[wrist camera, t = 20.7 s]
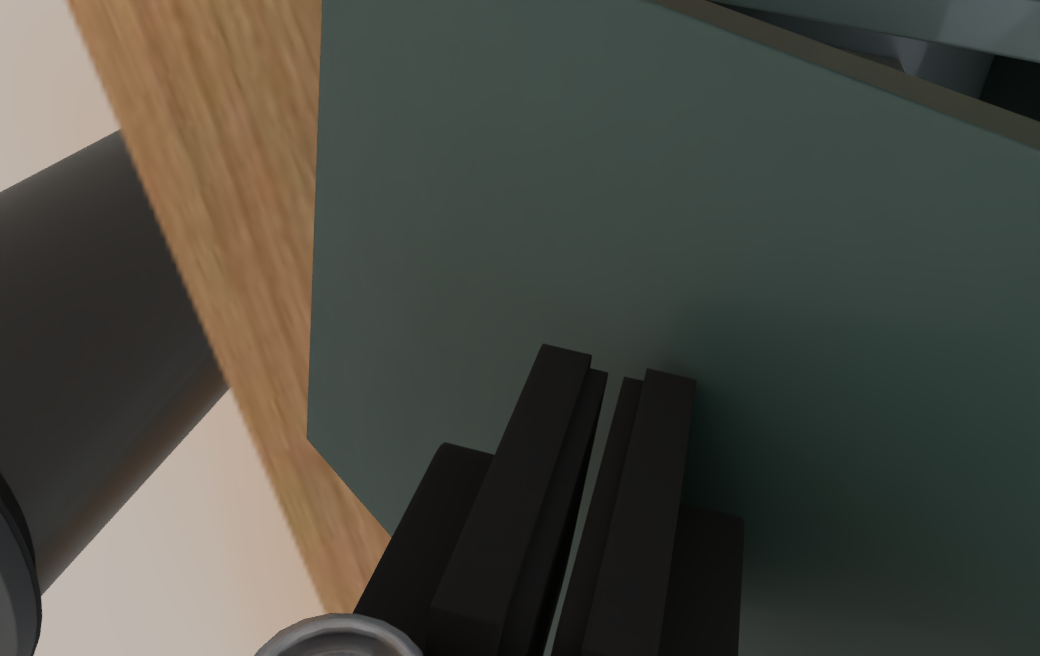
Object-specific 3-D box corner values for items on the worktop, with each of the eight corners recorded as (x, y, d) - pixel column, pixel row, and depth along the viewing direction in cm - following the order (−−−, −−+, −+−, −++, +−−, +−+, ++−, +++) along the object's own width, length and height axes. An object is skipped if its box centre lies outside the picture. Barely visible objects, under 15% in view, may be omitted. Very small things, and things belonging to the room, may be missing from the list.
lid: (1418, 257, 6) (1385, 283, 6) (901, 1034, 11) (859, 1082, 10) (376, -121, 14) (325, -123, 14) (344, 426, 19) (305, 439, 18)
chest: (1070, -54, 19) (1222, 32, 13) (906, 358, 24) (953, 578, 18) (496, -154, 21) (363, -125, 14) (449, 253, 26) (334, 419, 19)
